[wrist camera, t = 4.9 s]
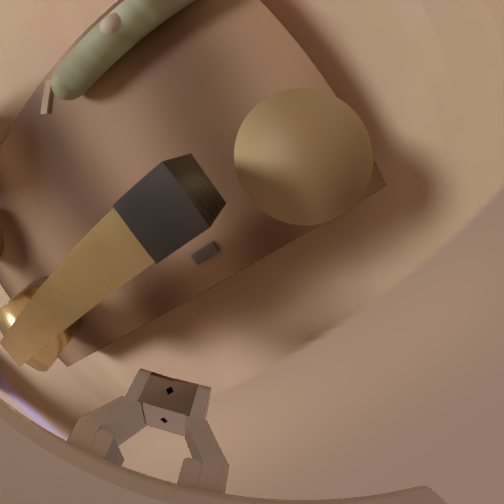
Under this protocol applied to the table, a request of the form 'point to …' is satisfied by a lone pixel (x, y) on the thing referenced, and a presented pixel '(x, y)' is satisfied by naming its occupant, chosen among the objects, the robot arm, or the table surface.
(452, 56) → the table surface
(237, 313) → the table surface
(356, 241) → the table surface
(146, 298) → the levelling base
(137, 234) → the lever handle
